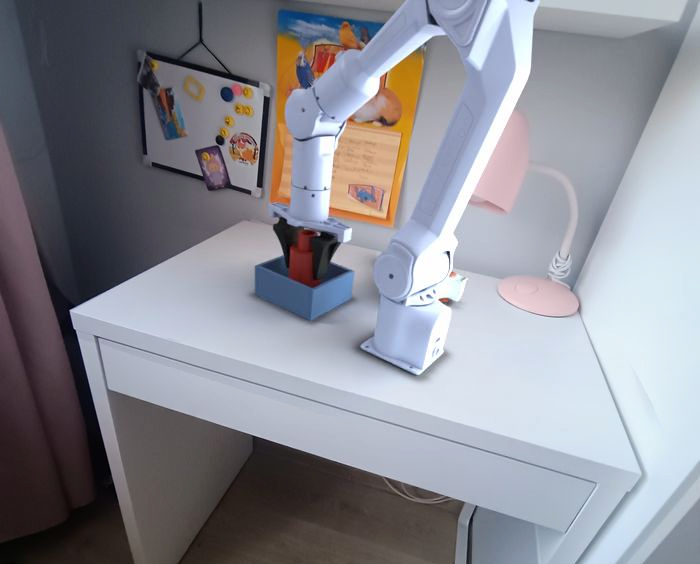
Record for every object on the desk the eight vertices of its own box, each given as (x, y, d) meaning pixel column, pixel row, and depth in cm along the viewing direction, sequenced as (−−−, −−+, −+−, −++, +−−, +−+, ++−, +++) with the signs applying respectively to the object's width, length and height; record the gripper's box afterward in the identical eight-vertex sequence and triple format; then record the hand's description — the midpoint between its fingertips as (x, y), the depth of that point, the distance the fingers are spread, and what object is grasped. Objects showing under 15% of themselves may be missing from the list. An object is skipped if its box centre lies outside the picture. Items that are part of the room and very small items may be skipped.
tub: (351, 298, 79) (354, 270, 76) (310, 321, 71) (313, 290, 68) (297, 276, 84) (299, 249, 81) (254, 294, 76) (254, 265, 73)
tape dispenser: (382, 266, 95) (351, 300, 79) (385, 241, 93) (354, 269, 76) (469, 282, 91) (457, 321, 74) (474, 256, 89) (463, 290, 72)
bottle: (326, 286, 77) (331, 233, 72) (306, 296, 73) (310, 241, 68) (302, 276, 79) (305, 224, 74) (282, 285, 75) (284, 231, 70)
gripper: (254, 177, 68) (254, 264, 75) (334, 202, 61) (325, 295, 69) (287, 171, 73) (283, 253, 80) (364, 194, 67) (353, 281, 74)
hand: (305, 272), depth 75 cm, fingers closed on bottle, 5 cm apart
